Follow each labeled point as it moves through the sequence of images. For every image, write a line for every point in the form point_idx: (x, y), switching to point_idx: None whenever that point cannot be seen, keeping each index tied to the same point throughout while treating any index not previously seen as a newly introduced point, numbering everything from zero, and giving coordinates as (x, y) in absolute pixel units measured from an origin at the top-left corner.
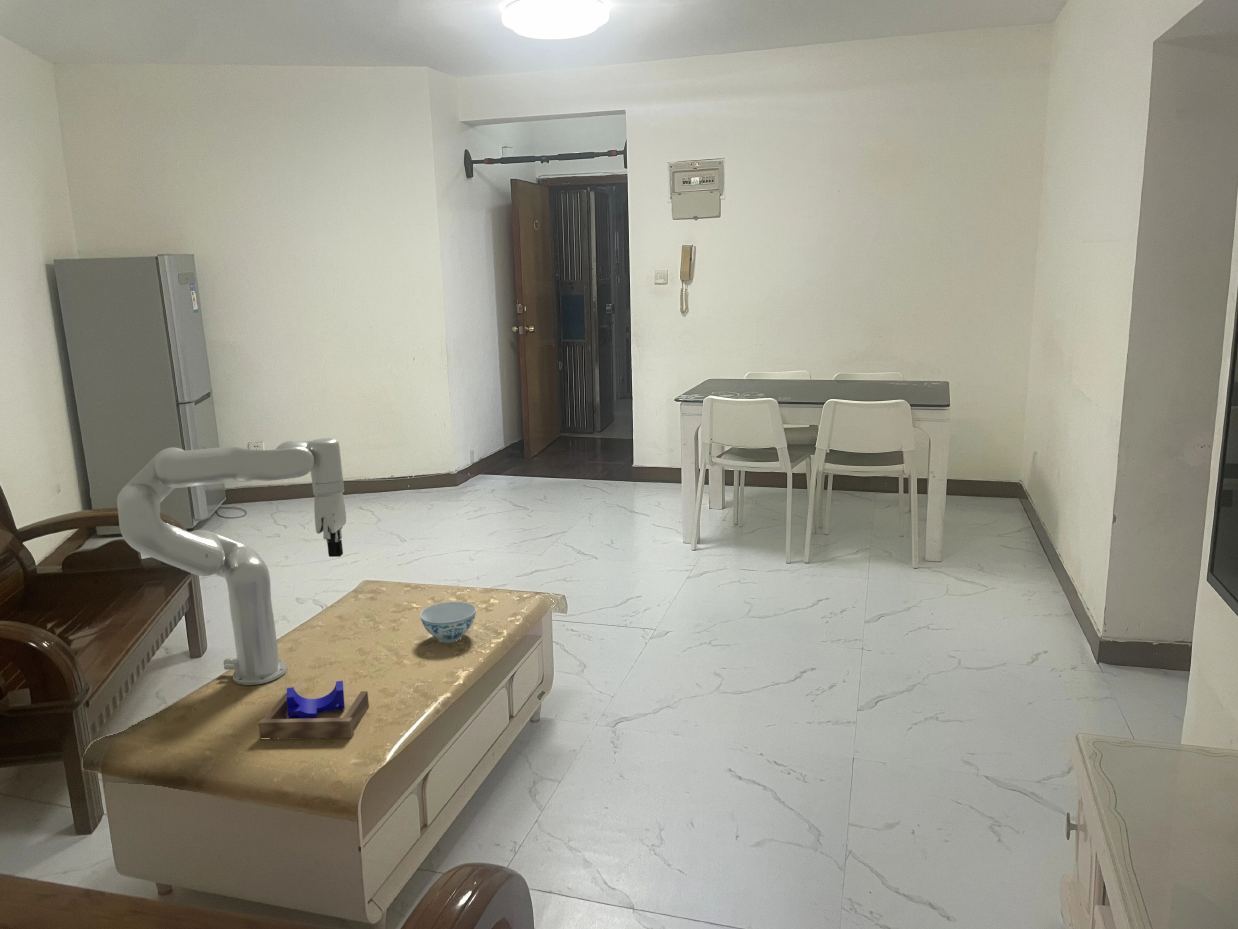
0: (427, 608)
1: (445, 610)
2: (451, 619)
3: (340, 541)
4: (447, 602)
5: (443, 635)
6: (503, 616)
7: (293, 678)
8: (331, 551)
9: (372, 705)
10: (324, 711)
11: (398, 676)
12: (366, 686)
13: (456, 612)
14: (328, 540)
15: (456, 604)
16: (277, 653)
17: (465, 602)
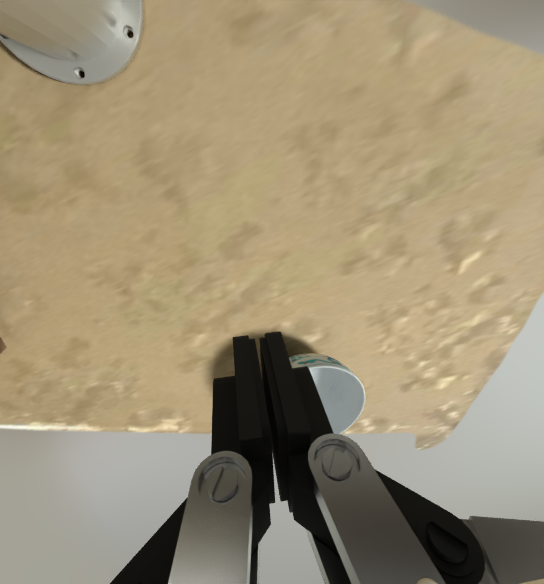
0: (337, 368)
1: (352, 379)
2: (339, 377)
3: (288, 499)
4: (363, 392)
5: None
6: (376, 411)
7: (70, 126)
8: (215, 398)
9: (15, 349)
10: None
11: (137, 348)
12: (83, 311)
13: (349, 390)
14: (169, 526)
15: (359, 401)
16: (65, 48)
17: (355, 419)
